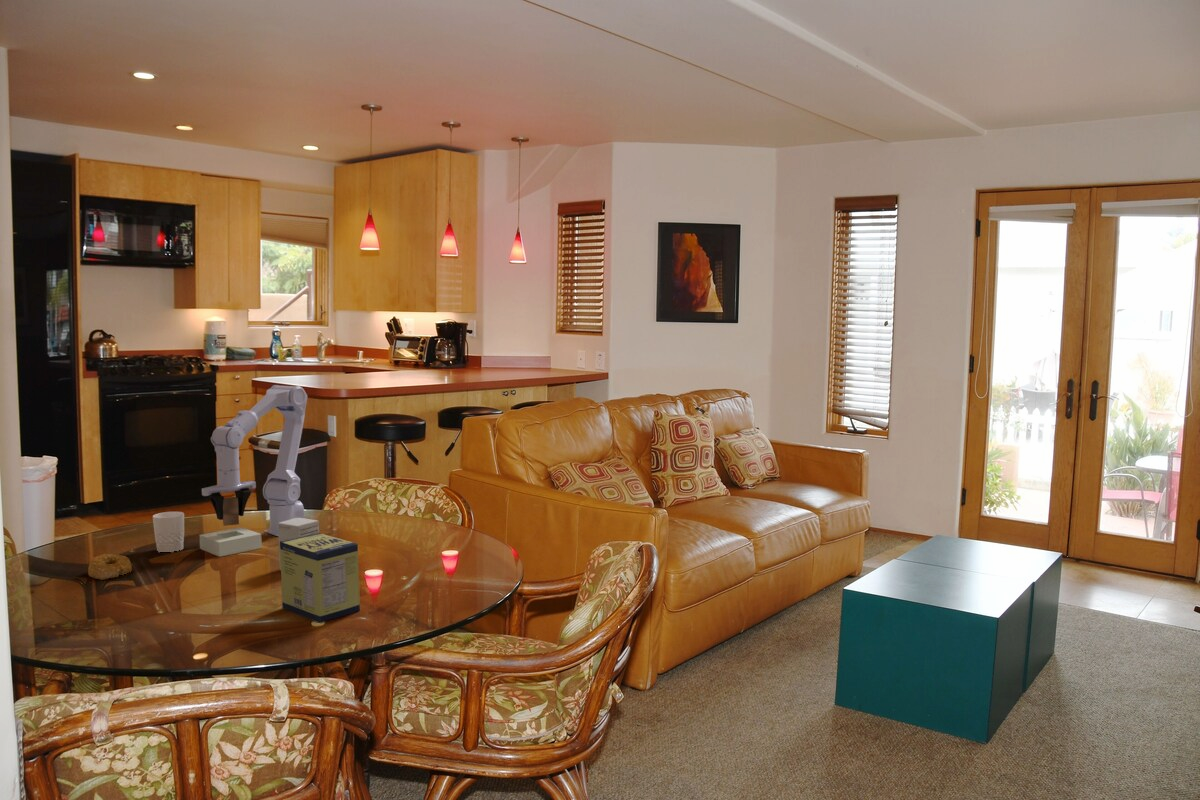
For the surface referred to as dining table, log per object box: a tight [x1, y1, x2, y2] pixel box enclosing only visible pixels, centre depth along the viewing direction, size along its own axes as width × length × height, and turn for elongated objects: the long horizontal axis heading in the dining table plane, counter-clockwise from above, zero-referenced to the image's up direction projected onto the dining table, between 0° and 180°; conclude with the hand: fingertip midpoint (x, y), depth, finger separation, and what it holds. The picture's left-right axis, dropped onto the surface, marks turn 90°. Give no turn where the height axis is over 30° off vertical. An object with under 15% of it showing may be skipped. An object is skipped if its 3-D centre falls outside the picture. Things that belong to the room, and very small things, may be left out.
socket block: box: [199, 526, 263, 558], centre depth 252 cm, size 12×12×4 cm
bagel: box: [87, 553, 133, 581], centre depth 228 cm, size 10×11×5 cm
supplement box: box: [278, 517, 320, 571], centre depth 232 cm, size 7×7×13 cm
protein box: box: [280, 532, 361, 624], centre depth 201 cm, size 10×16×16 cm
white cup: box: [152, 511, 185, 553], centre depth 250 cm, size 8×8×10 cm
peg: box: [222, 496, 240, 527], centre depth 251 cm, size 4×4×7 cm
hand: (230, 517), depth 251 cm, fingers closed on peg, 5 cm apart
